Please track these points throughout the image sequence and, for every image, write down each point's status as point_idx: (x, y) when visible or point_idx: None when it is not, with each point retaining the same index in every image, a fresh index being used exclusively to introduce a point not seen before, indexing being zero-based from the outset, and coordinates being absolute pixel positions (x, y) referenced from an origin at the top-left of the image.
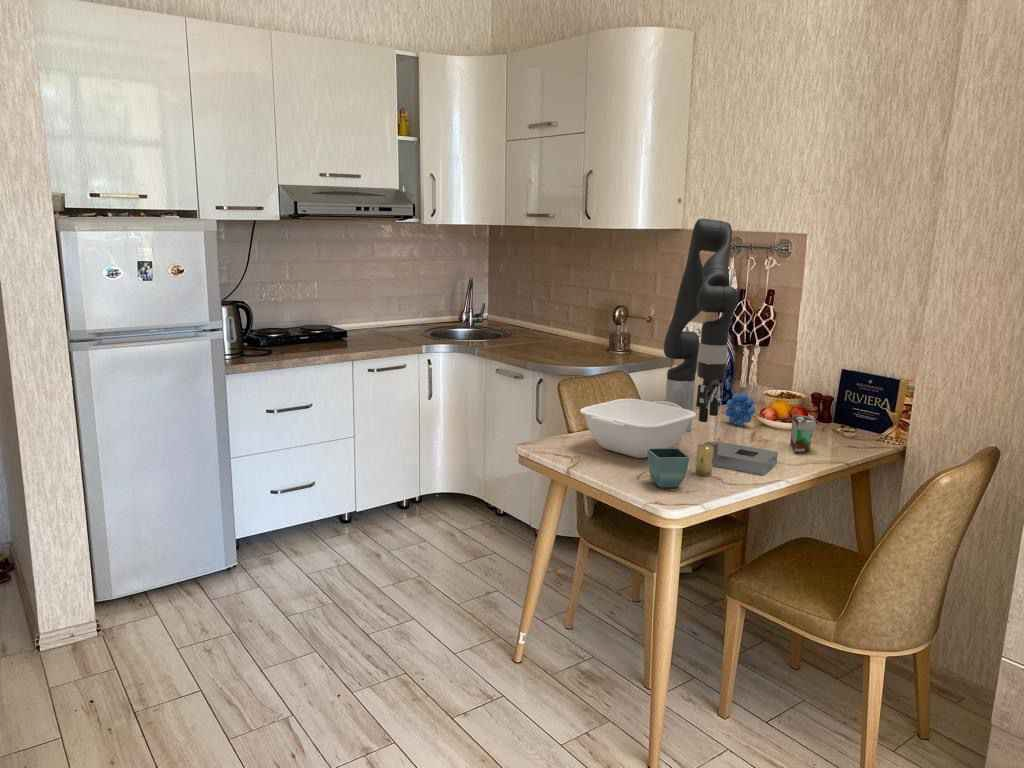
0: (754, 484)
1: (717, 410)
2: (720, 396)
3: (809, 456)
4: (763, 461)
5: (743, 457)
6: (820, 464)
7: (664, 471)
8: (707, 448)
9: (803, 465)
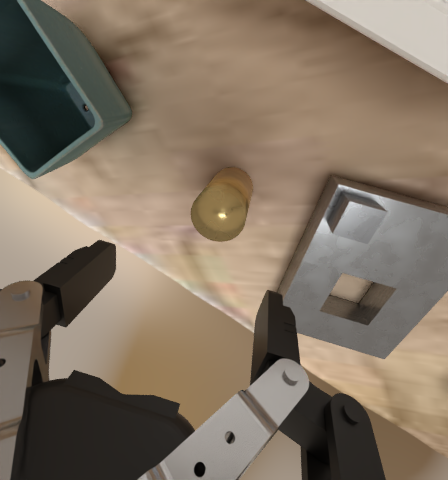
0: (206, 285)
1: (255, 343)
2: (302, 449)
3: (442, 391)
4: None
5: (308, 290)
6: (380, 394)
7: (12, 98)
8: (196, 223)
9: (367, 371)
